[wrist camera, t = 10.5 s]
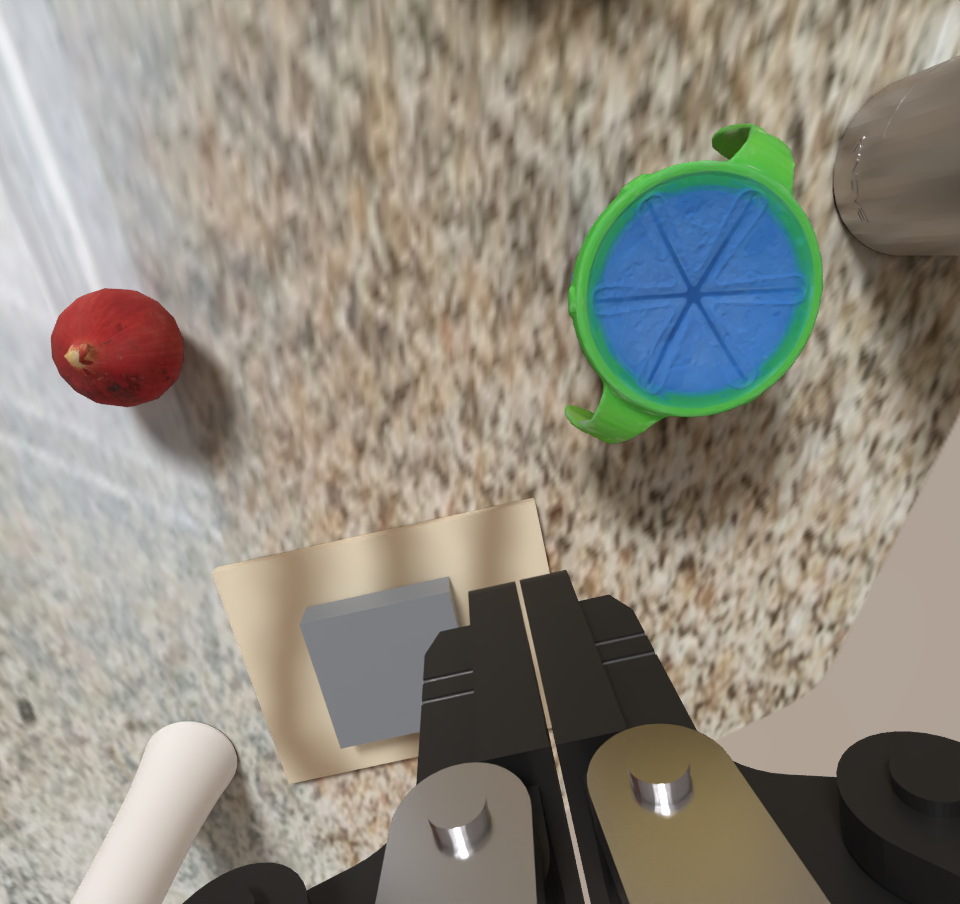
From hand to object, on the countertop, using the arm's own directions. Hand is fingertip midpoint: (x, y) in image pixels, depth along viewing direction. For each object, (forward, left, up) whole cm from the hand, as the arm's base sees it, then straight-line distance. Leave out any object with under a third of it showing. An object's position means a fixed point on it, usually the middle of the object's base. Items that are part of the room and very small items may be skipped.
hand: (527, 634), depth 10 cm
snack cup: (-10, -2, -29) cm, 31 cm away
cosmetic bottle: (+24, +22, -29) cm, 44 cm away
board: (+8, +17, -29) cm, 35 cm away
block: (+4, +17, -27) cm, 32 cm away
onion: (+17, -5, -29) cm, 34 cm away
